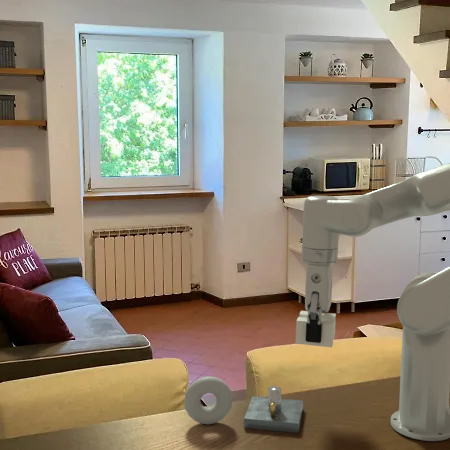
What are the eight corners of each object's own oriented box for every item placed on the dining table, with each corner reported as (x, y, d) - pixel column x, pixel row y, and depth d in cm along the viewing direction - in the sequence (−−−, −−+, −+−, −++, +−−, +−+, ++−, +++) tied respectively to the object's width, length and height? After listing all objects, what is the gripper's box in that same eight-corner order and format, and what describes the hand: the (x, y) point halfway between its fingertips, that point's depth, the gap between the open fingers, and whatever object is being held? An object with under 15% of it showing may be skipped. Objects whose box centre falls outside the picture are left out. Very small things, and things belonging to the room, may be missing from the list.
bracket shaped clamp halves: (334, 335, 138) (335, 313, 137) (332, 347, 130) (333, 324, 130) (300, 332, 139) (300, 310, 139) (295, 343, 132) (296, 320, 131)
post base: (302, 409, 136) (303, 380, 135) (298, 432, 125) (299, 401, 124) (252, 405, 138) (252, 376, 137) (244, 427, 127) (244, 397, 127)
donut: (231, 418, 132) (231, 372, 130) (233, 425, 128) (233, 378, 127) (183, 421, 130) (183, 375, 129) (184, 428, 127) (184, 381, 126)
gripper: (334, 265, 123) (329, 351, 126) (340, 248, 139) (335, 325, 142) (296, 262, 125) (292, 347, 127) (306, 246, 141) (302, 322, 144)
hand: (315, 335), depth 135 cm, fingers closed on bracket shaped clamp halves, 7 cm apart
